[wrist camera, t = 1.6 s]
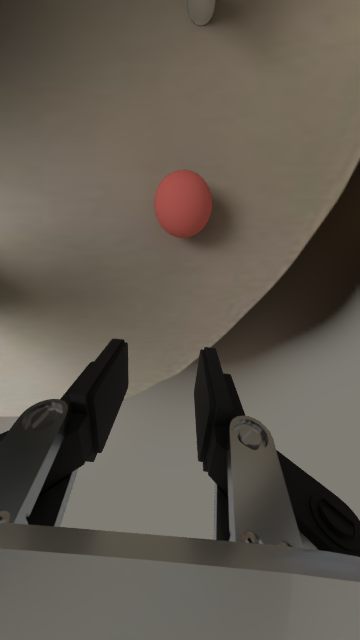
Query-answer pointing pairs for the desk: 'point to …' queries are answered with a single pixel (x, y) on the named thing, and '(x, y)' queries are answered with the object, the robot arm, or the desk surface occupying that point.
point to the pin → (201, 11)
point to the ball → (183, 203)
